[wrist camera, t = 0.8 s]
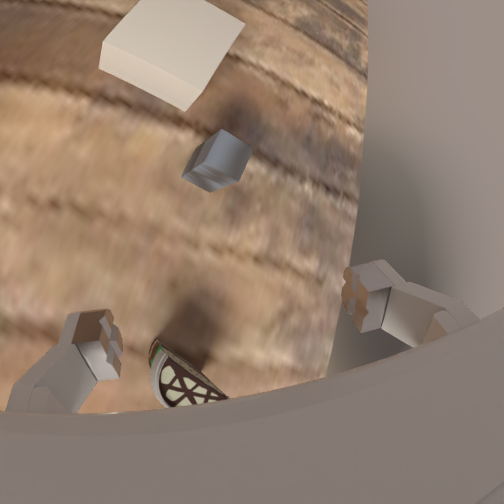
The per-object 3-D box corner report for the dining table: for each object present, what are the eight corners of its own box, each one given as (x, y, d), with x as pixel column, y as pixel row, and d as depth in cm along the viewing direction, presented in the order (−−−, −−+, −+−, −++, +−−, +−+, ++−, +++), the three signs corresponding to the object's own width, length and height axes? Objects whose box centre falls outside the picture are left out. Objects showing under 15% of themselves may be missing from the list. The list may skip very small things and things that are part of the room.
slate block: (181, 177, 46) (204, 161, 37) (195, 149, 46) (221, 128, 38) (209, 192, 48) (238, 181, 39) (222, 164, 49) (253, 148, 40)
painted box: (98, 69, 38) (103, 41, 31) (150, 7, 41) (162, -21, 34) (184, 112, 46) (202, 91, 39) (224, 47, 48) (245, 24, 41)
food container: (123, 362, 42) (133, 391, 33) (148, 331, 44) (164, 353, 35) (184, 404, 46) (207, 435, 38) (207, 376, 48) (234, 402, 40)
